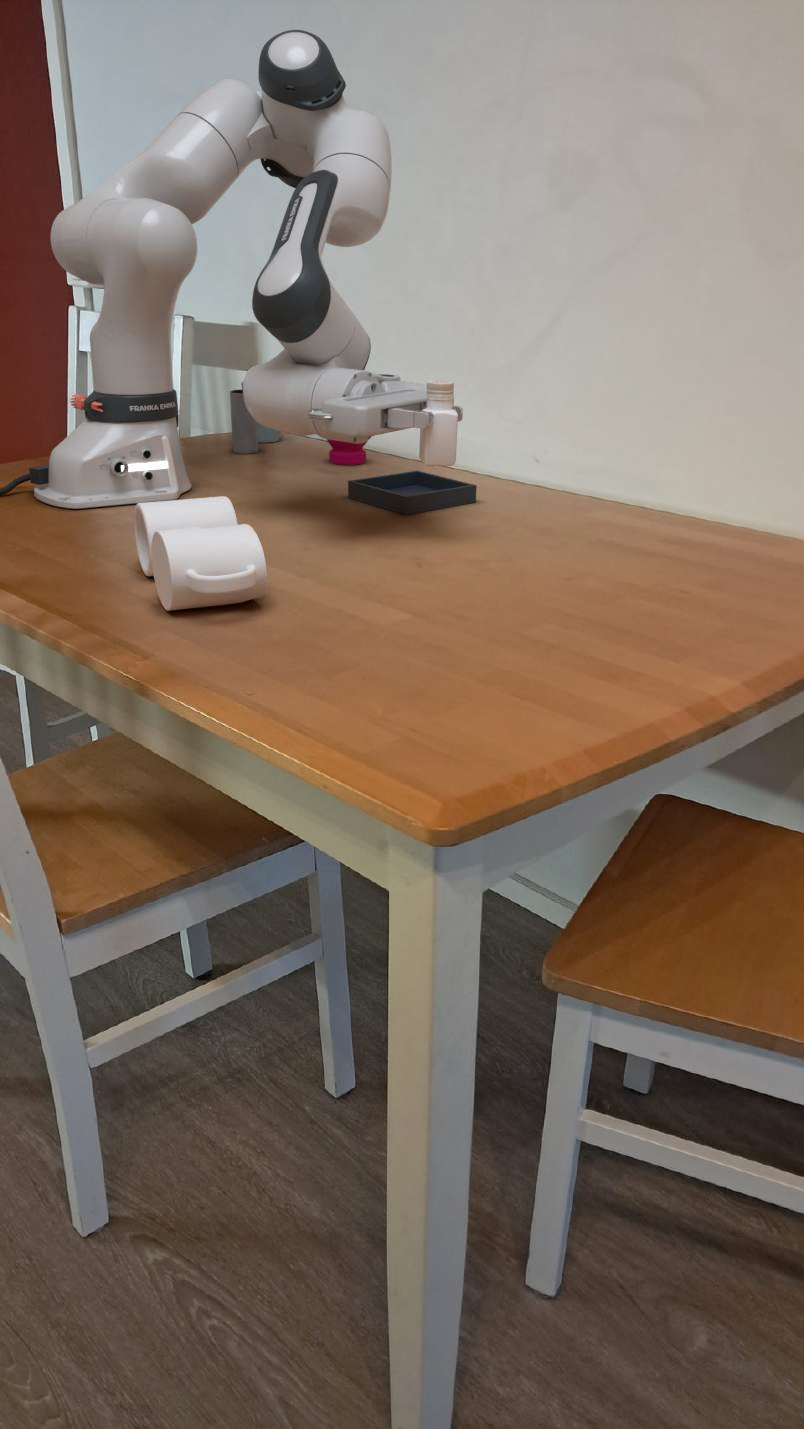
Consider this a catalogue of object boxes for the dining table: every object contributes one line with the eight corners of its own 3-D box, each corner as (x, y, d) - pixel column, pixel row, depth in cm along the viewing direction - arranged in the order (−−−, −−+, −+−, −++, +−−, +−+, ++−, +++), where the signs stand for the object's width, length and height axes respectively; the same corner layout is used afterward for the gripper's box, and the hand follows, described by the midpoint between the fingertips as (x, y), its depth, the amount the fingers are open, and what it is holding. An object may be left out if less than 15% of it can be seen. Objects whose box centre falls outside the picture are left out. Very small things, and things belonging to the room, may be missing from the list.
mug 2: (152, 596, 111) (146, 520, 108) (239, 585, 115) (235, 512, 112) (183, 631, 101) (177, 549, 98) (276, 618, 105) (273, 539, 102)
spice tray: (405, 514, 146) (405, 496, 145) (348, 497, 155) (347, 480, 154) (475, 502, 154) (476, 485, 153) (417, 486, 163) (417, 470, 162)
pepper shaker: (450, 460, 131) (454, 379, 127) (456, 466, 127) (460, 384, 123) (418, 460, 130) (420, 379, 126) (423, 466, 126) (426, 383, 123)
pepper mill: (367, 466, 177) (368, 339, 169) (324, 465, 178) (322, 338, 169) (369, 458, 184) (370, 335, 176) (328, 457, 184) (326, 335, 176)
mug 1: (242, 575, 119) (238, 504, 115) (152, 585, 115) (146, 511, 112) (213, 549, 129) (209, 482, 125) (130, 557, 125) (123, 489, 122)
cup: (251, 444, 194) (248, 385, 190) (238, 438, 201) (235, 380, 196) (290, 442, 197) (289, 383, 193) (276, 436, 204) (274, 379, 200)
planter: (227, 452, 187) (224, 391, 183) (242, 448, 191) (239, 388, 187) (249, 454, 185) (246, 393, 181) (263, 450, 189) (261, 390, 185)
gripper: (298, 387, 124) (395, 398, 117) (398, 373, 139) (489, 382, 132) (298, 442, 126) (394, 456, 119) (397, 423, 142) (486, 434, 135)
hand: (445, 417), depth 126 cm, fingers closed on pepper shaker, 5 cm apart
